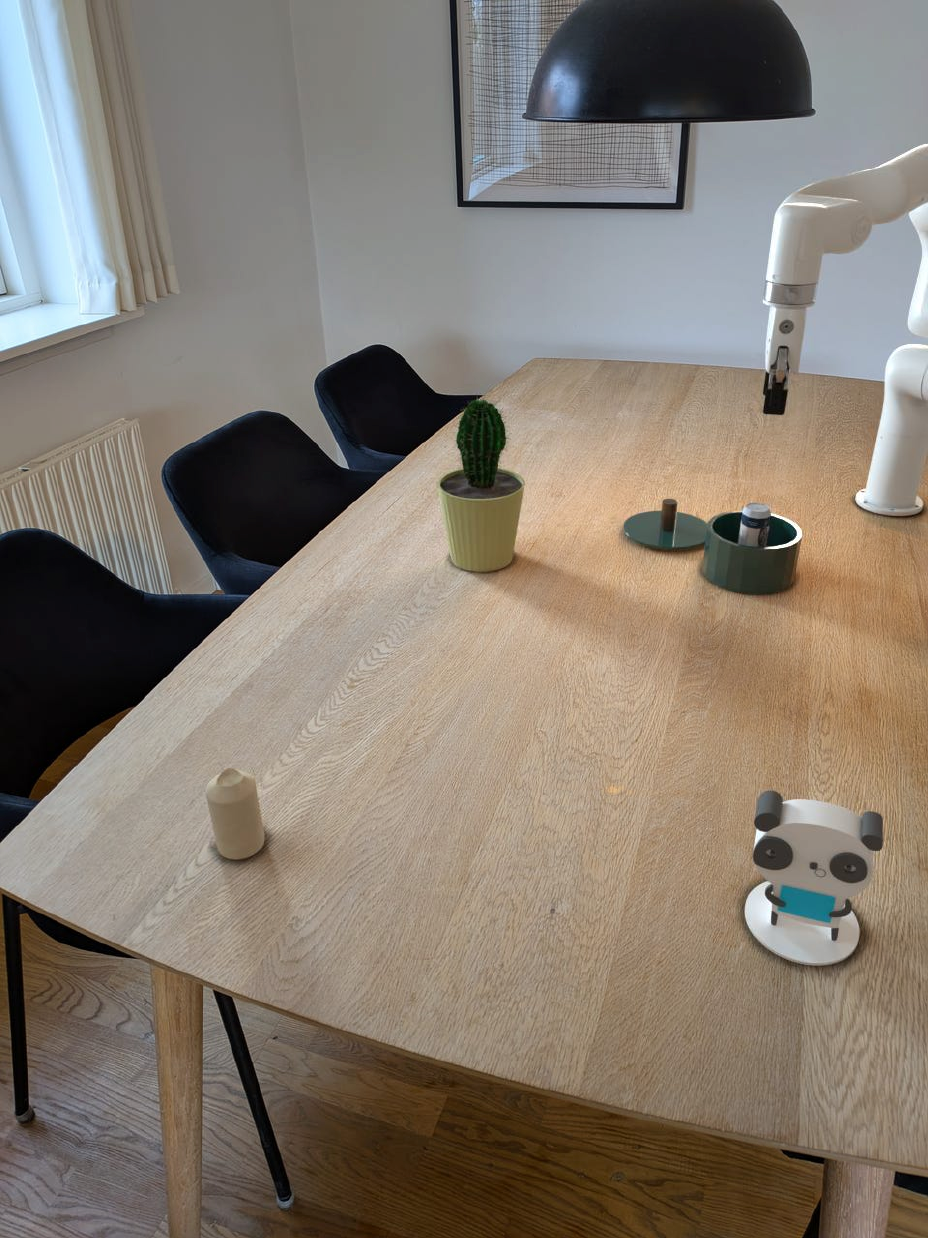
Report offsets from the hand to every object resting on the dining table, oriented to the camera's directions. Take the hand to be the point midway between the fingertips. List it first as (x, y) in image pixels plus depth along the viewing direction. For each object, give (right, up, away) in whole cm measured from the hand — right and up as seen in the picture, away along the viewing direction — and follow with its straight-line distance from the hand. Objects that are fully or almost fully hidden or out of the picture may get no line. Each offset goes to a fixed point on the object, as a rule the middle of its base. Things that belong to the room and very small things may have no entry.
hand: (773, 404), depth 150 cm
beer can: (+1, -26, +15) cm, 30 cm away
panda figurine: (-14, -66, -52) cm, 85 cm away
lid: (-11, -17, +29) cm, 36 cm away
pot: (+1, -26, +15) cm, 30 cm away
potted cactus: (-46, -23, +22) cm, 56 cm away
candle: (-75, -61, -40) cm, 105 cm away
